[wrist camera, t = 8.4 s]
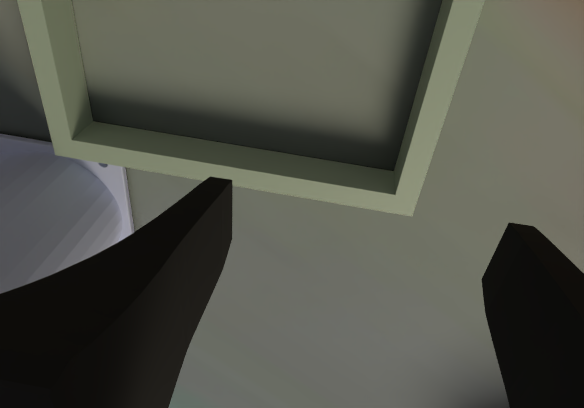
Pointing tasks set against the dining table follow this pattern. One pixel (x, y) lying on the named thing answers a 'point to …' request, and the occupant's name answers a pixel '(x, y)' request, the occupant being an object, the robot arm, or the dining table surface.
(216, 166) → the pale green square frame
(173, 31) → the dining table surface
